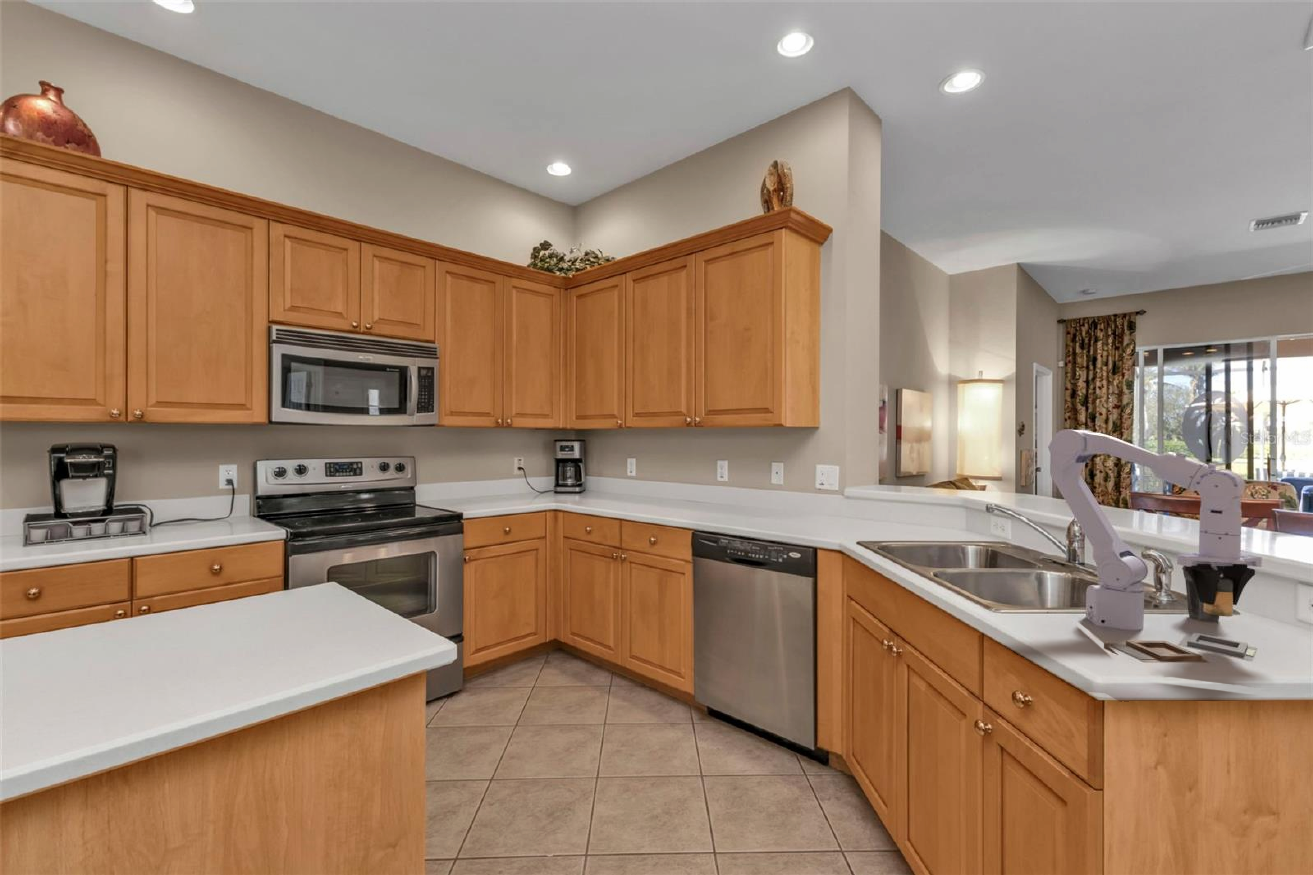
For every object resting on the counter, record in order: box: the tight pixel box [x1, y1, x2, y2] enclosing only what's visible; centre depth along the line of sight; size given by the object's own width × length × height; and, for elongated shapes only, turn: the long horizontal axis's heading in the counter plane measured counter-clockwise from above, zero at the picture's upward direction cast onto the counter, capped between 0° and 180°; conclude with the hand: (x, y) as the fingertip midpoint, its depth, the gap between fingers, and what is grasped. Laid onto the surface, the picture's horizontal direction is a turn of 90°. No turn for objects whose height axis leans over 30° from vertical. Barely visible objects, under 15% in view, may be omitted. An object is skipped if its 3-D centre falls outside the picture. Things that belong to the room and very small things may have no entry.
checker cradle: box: [1177, 632, 1258, 662], centre depth 110 cm, size 10×10×2 cm
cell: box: [1204, 574, 1234, 618], centre depth 110 cm, size 4×4×8 cm
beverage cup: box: [1182, 562, 1220, 623], centre depth 126 cm, size 7×7×20 cm
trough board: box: [1103, 640, 1211, 663], centre depth 107 cm, size 12×9×2 cm
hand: (1218, 603), depth 110 cm, fingers closed on cell, 4 cm apart
